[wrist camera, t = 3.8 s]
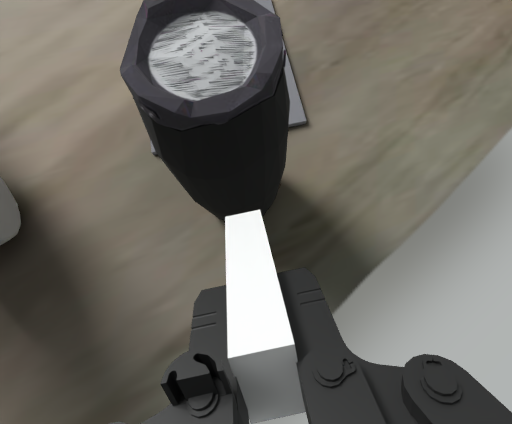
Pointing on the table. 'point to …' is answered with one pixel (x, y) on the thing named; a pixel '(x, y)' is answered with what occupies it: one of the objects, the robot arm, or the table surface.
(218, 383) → the robot arm
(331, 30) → the table surface
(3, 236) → the alarm clock
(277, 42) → the portable speaker
